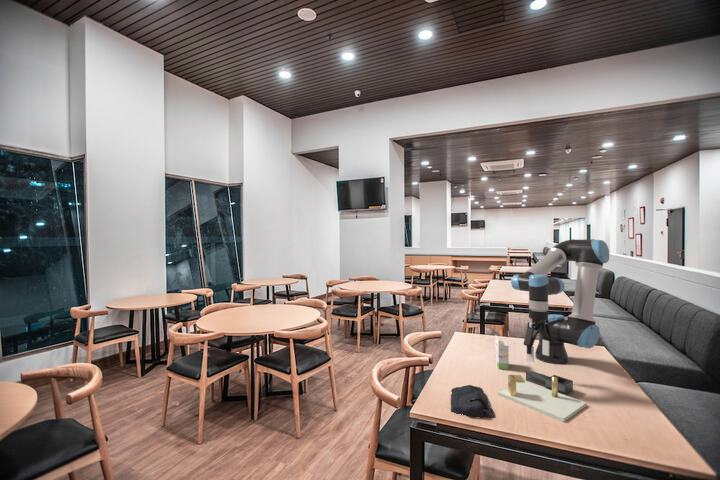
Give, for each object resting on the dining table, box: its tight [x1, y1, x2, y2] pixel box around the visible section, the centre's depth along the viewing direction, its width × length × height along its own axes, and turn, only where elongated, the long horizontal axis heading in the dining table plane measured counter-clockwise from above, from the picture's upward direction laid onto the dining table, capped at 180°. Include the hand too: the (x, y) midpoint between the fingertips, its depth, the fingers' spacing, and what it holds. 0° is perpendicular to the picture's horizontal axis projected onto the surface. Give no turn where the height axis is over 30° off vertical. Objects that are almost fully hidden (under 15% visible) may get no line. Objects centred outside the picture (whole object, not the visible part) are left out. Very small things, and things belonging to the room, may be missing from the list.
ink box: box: [494, 334, 510, 370], centre depth 168 cm, size 9×5×15 cm, turn 168°
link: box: [525, 369, 574, 396], centre depth 145 cm, size 17×8×4 cm, turn 35°
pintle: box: [551, 375, 558, 398], centre depth 133 cm, size 2×2×8 cm
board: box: [497, 380, 587, 423], centre depth 133 cm, size 19×25×1 cm
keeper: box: [507, 374, 526, 396], centre depth 136 cm, size 5×5×8 cm
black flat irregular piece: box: [450, 384, 495, 419], centre depth 131 cm, size 15×22×5 cm
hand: (538, 358), depth 148 cm, fingers open, 13 cm apart
